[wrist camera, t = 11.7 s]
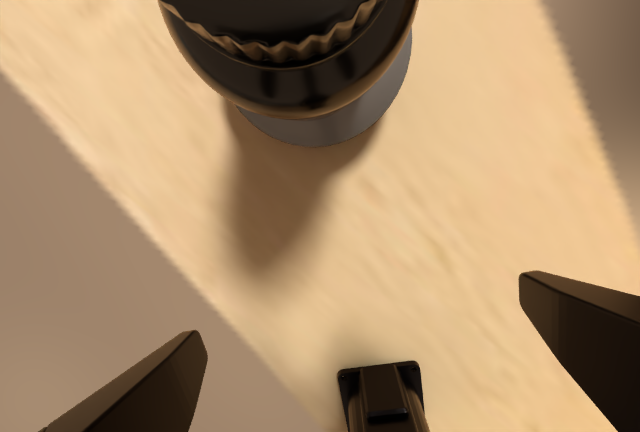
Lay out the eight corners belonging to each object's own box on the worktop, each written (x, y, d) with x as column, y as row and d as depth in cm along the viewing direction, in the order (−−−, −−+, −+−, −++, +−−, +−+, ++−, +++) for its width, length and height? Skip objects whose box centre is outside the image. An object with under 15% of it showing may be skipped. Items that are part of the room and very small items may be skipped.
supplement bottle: (303, 148, 17) (255, 202, 6) (211, 47, 16) (-102, -154, 4) (402, 54, 16) (610, -133, 4) (309, -66, 14) (237, -840, 3)
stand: (406, 128, 20) (419, 129, 17) (252, 155, 20) (240, 161, 17) (388, -61, 17) (401, -99, 14) (211, -22, 17) (188, -50, 15)
